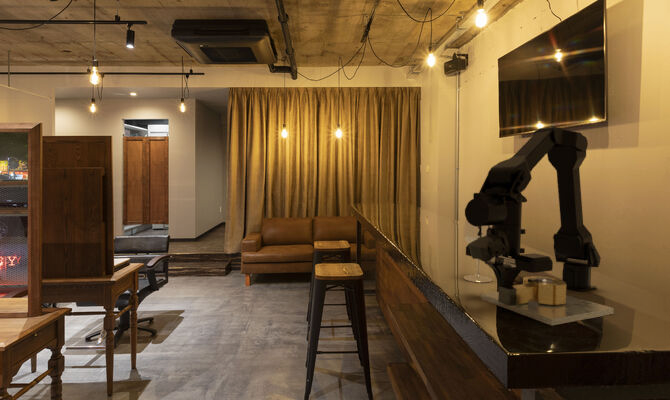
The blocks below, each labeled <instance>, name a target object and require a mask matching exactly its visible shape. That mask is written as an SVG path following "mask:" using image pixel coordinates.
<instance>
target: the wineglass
mask: <svg viewBox="0 0 670 400" xmlns="http://www.w3.org/2000/svg"><path fill="white" fill-rule="evenodd" d="M490 227H492V225H489V226H479V227H476V226H473V225H471V224H470V223H469V222H468V221H467V219H466V218H465V223H464V229H463V238H464V240H465V241H466V243H467V245H468V244H469V243H471V242H473V241H475V240H477V239H478V238H481V237H484V236H486V233H487V229H488V228H490ZM475 270H476V271H475V273H474V274H472V275H471V274H467V275H464V276H463V279H464V280H465V281H469V282H472V283H486V284H487V283H490V282H492V281H493V278H491V277H489V276H484V275H483V274H481V273H480V272H481V271H480V260H479V259H476V269H475Z"/></svg>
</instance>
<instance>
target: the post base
mask: <svg viewBox="0 0 670 400" xmlns="http://www.w3.org/2000/svg"><path fill="white" fill-rule="evenodd" d="M535 277H536V276H535ZM545 277H546V276H539V277H536V279H539V282H540V283H549V284H551V283H553V280H552V279H550V278H551V277H549V278H545ZM498 296H499V291H494V292H493V291H492V292H487V293H485V292H484V293H481V294H480V300H483V301H485V302H488V303H491V304H493V305H496V306H498V307H502V308H504V309H506V310H509V311H512V312H515V313H517V314H520V315H522V316H525V317H527V318H531V319H533V320H536V321H539V322H541V323H544V324H547V325H549V326H556V325H563V324H567V323H573V322H578V321H583V320H589V319H595V318H598V317H606V316H610V314H611V315H614V314H615V313H614V311H615V310H614V309H615V308H613V307H610V306H607V305H604V304H600V303H596V302H593V301H590V300H586V299H582V298H579V297H576V296H571V295H567V294H566V303H565V304H558V305H554V304H553V305H550V304H542V303H539V301H540V300H535V299H530V300H529V301H528V303H522V304H516V305H512V306H508V305H505V304H502V303H500V302H498Z"/></svg>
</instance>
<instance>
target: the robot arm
mask: <svg viewBox="0 0 670 400" xmlns="http://www.w3.org/2000/svg"><path fill="white" fill-rule="evenodd" d="M588 143H589V141H588V139H587V137H586V136H585V135H583V134H582V133H581V132H579V131H572V130H568V129H563V128H561V127H559V126H547V127H539V128H537V129H536V130H534V132H533V135H532V136H531V137H530V138H529V139H528V140H527V141H526V142H525V143H524V144H523V145H522V146H521V147H520V148H519V149H518V151H517V152H515V153H514V154H513V156H511V157H510V158H507V159H505V160H502V161H500V162H498V163H496V164H494V165H493V166H492V167H491V168H490V169H489V171H487V175H486V177H485V179H484V181H483V184H482V186H481V188H480V189H479V192H474V193H473V196H472V197H473V198H472V199H471V200H469V201H468V202H467V204H466V206H465V208H464V217H465V220H466V219H467V221H468V222H469V223H470V224H471V225H473V226H476V227H479V226H489V225H492V227H490V228H488V229H487V233H486V236H484V237H481V238H478V239H477V240H475V241H473V242H471V243H469V244H468V243H467V245H466V246H465V256H468V257H471V259H473V260H477V259H479V261H481V262H483V263H484V264H485V265H487V266H489V268H490V269H491V270H492V271H493V273H494V275H495V279H496V282H497V284H498V287H499V286H504V285H507V286H513V284H514V282H515V281H516V279H517V277H518V276H519V275H520V273H521V272H526V273H532V274H535V273H544V272H552V271H553V269H554V267H553V263H554V262H553V260H552V258H551V256H549V255H545V254H539V253H525V252H526V251H525V247H521V237H522V235H526V228H522V215H523V214H522V212H523V211H522V210H523V209H522V208H523V203H527V202H528V199H527V197H526V196H524V194H523V193H522V192H524V191H525V190H526V188H528V185H529V184H530V182H531V181H532V179H533V177H532V170H533V169H534V168H535V167H536V166H537V165H538V163H540V161H542V160H543V158H544V157H545V156H546V155H547V160H548V162H549V163H550V165H551V166H552V167H553V168H554V170H555V171H556V179H557V180H556V181H557V182H556V183H557V194H558V205H559V217H560V227H559V229H558V230H557V232H556V233H554V234H553V236H552V239H553V250H554V251H553V253H554V256H555V258H554V259H555V262H556V263H563V264H562V265H563V266H562V271H561V272H562V273H561V274H562V275H561V280H562V281H565V283H566V289H570V290H574V291H579V292H584V291H591V290H597V286H594V285H591V283H592V282H591V281H592V280H591V279H592V268H599V267H600V264H601V259H602V258H601V256H600V254H599V251H598V250H597V248H596V246H595V243H594V241H593V235H592V233H591V232H590V231H589V229H588V228H587V227H586V225H585V224H584V215H583V203H582V202H583V201H582V188H581V175H580V174H581V173H580V167H581V166H582V164H583V162H584V161H585V159H586V158H587V149H588Z"/></svg>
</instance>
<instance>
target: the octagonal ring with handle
mask: <svg viewBox="0 0 670 400" xmlns="http://www.w3.org/2000/svg"><path fill="white" fill-rule="evenodd" d="M536 277H540V276H538V275H537V276H536V275H531V276H524V277H523V278H522V281H523V282H522V284H514V285H513V284H512V286H507V285H504V286H499V285H498V292H499V296H498V302H500V303H502V304H505V305H508V306H512V305H516V304H522V303H528V301H529V300H530V299H535V300H540V301H539V303H542V304H550V305H553V304H554V305H558V304H565V303H566V295H567V288H566V283H565V281H562V279H558V278H554V277H547V276H544V277H545V278H550V279H552V280H553V283H551V284H549V283H540V282H539V279H536Z"/></svg>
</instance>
